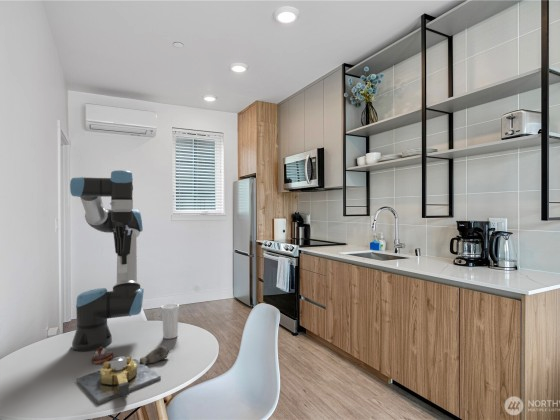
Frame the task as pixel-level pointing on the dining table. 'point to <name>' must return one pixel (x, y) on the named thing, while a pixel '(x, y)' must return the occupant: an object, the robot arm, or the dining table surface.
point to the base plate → (108, 392)
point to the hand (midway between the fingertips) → (122, 272)
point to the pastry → (102, 356)
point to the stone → (155, 355)
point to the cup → (170, 320)
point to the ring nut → (119, 376)
